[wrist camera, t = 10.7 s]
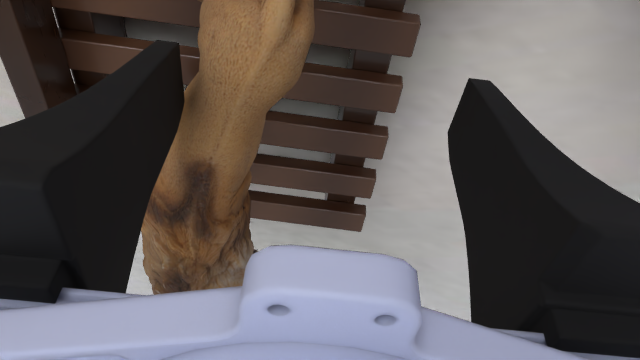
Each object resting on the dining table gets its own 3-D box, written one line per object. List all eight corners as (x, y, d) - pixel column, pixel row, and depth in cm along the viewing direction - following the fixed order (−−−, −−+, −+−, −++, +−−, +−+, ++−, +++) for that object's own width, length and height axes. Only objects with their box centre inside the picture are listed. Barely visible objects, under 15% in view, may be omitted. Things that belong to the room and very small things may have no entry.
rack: (459, -189, 18) (488, -137, 14) (361, 185, 33) (359, 270, 28) (7, -261, 17) (-117, -232, 13) (112, 152, 32) (70, 233, 27)
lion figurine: (266, 196, 25) (272, 359, 19) (156, 184, 24) (120, 356, 17) (340, -136, 16) (404, -52, 10) (170, -181, 15) (106, -121, 8)
